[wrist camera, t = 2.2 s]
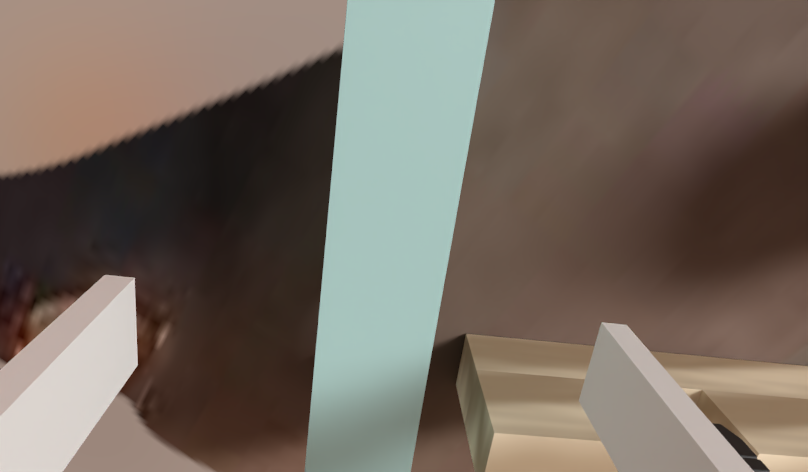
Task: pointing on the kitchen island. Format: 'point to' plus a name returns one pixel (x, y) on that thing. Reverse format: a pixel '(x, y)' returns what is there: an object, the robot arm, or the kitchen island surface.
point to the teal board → (391, 223)
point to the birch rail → (571, 428)
